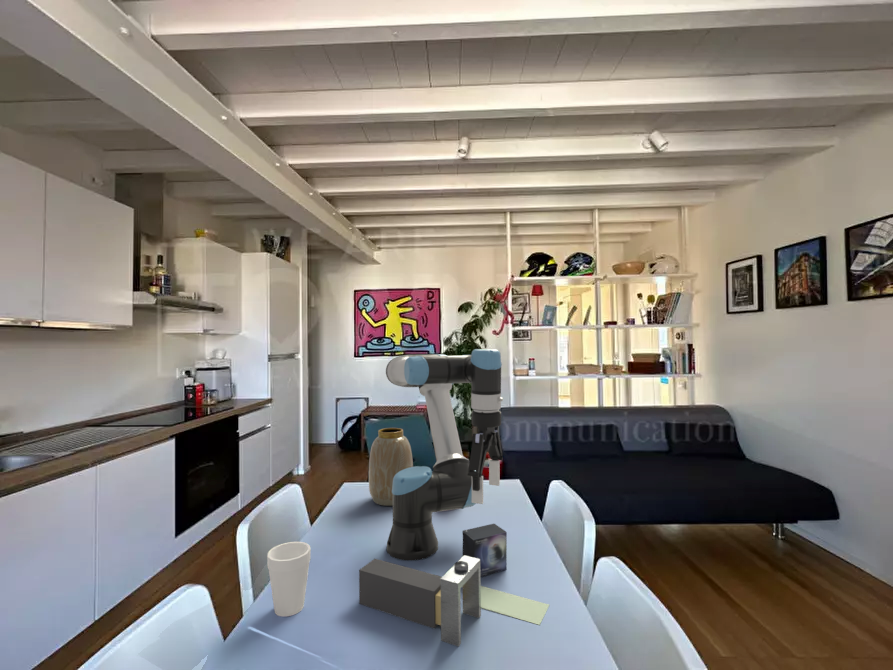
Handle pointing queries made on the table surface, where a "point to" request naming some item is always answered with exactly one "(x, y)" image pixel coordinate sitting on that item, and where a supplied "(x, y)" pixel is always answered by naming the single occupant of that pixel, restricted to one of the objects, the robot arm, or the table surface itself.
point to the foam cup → (289, 576)
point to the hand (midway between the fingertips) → (486, 493)
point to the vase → (387, 463)
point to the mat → (513, 605)
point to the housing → (459, 597)
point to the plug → (401, 592)
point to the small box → (487, 548)
